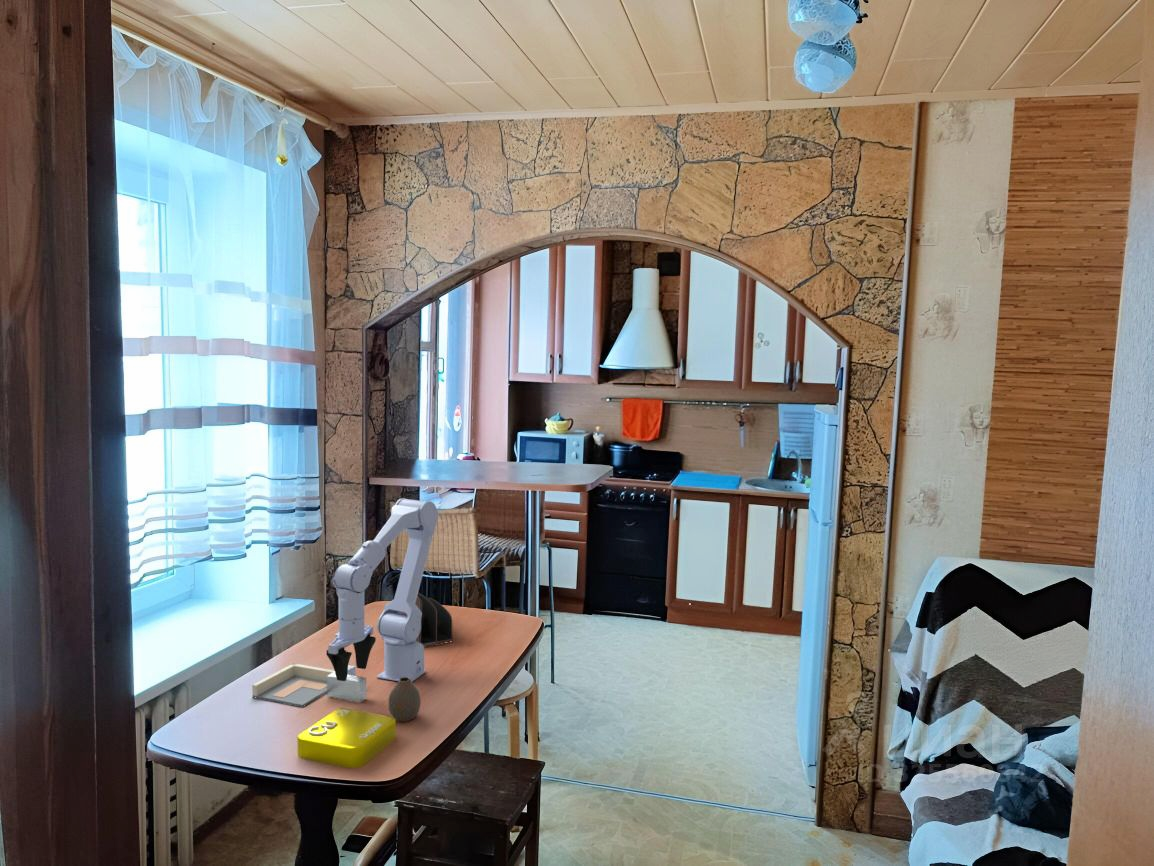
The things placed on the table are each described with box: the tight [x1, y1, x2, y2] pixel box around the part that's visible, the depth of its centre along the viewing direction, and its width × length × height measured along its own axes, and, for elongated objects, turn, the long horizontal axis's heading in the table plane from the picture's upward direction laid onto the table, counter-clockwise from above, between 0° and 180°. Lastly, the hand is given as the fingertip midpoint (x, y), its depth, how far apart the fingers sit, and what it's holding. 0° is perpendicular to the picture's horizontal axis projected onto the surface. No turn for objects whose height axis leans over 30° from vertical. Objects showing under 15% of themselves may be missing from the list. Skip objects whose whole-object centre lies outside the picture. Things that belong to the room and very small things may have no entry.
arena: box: [251, 663, 335, 708], centre depth 183 cm, size 14×14×3 cm
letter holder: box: [398, 592, 454, 647], centre depth 223 cm, size 10×20×14 cm, turn 30°
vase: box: [388, 677, 422, 722], centre depth 170 cm, size 7×7×9 cm
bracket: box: [326, 664, 367, 703], centre depth 182 cm, size 9×8×5 cm
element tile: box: [296, 707, 397, 769], centre depth 157 cm, size 15×15×5 cm
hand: (351, 673), depth 179 cm, fingers open, 7 cm apart
